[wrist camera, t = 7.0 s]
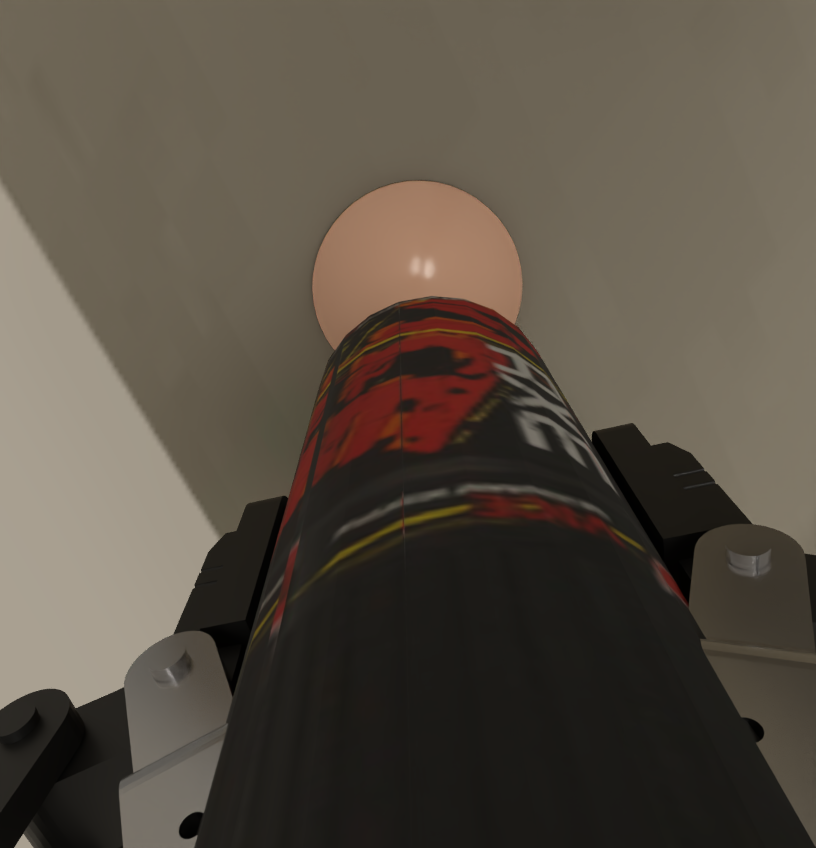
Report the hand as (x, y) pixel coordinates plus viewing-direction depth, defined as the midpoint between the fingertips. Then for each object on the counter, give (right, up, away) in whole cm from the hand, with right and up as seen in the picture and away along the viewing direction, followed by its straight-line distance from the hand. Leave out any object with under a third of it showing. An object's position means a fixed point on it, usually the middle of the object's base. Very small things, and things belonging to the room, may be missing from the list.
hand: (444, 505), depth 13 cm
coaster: (0, +7, +16) cm, 18 cm away
